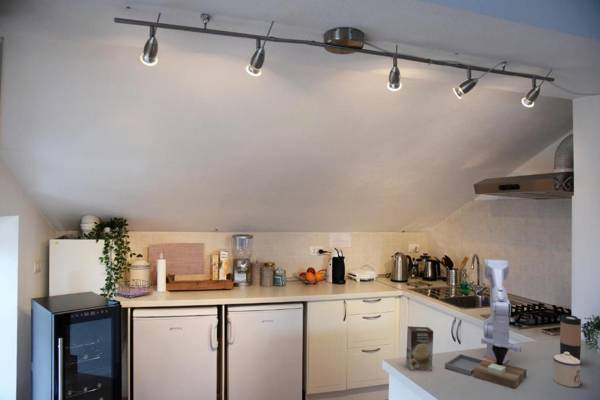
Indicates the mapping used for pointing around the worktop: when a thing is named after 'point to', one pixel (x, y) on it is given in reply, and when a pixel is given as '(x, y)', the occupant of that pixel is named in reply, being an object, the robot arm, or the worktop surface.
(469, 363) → the box
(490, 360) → the terracotta tile
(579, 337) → the travel mug
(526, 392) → the worktop surface
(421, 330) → the coffee box
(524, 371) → the walnut plate
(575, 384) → the cream lidded canister
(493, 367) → the sage tile
